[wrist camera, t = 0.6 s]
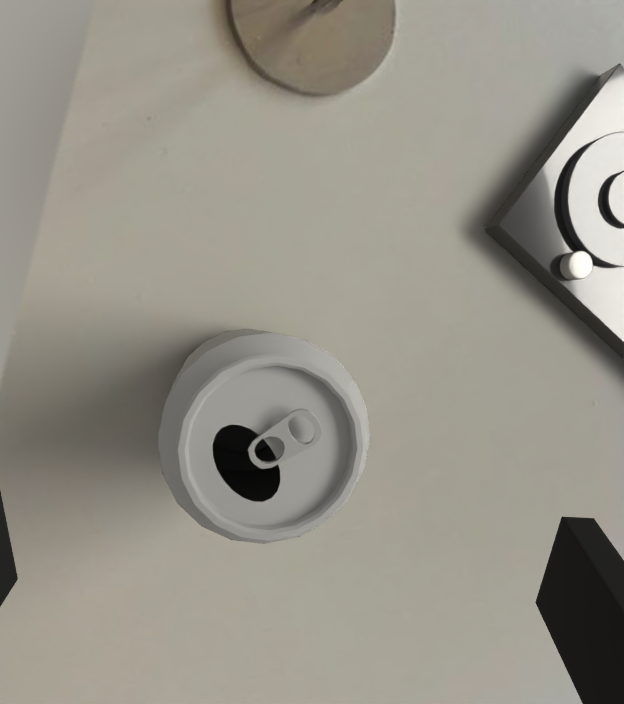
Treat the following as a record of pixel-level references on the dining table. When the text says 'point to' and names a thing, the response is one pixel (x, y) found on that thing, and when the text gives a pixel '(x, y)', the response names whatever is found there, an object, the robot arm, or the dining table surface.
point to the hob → (577, 212)
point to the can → (262, 436)
